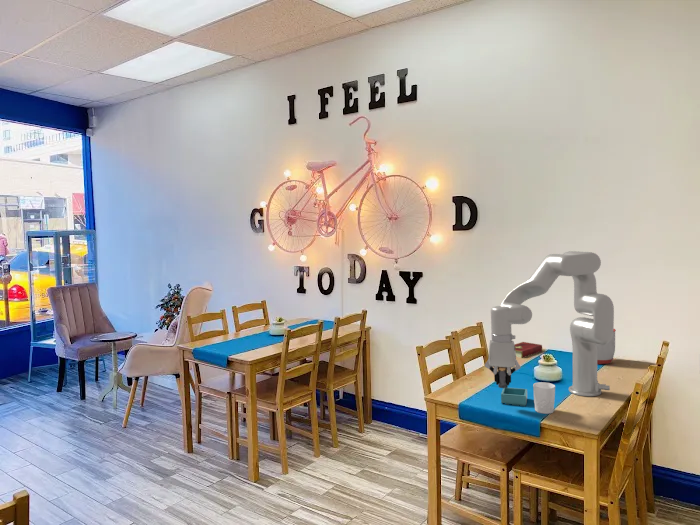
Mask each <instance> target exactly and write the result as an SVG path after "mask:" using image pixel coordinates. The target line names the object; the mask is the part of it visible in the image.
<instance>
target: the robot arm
mask: <svg viewBox="0 0 700 525" xmlns="http://www.w3.org/2000/svg"><path fill="white" fill-rule="evenodd" d="M601 261H602V260H601V258H600V256H599V255H598V254H597V253H596V252H591V251H590V252H589V251H575V250H573V251H571V250H570V251H565V252H563V253H559V254H558V253H553V254H552V253H551V254H548V255H547V256H545V257H544V258H543V259H542V261H541V262H540V264H539V265H538V266H537V267H536V269H535V270H534V272H533V273H532V274H531V276H530V277H529V278H528V279H527V280H526V281H524V282H523V283H521V284H519V285H517V287H515V288H513V289H512V290H511V291H510V292H509V293H508V294H507V295H506V296H505V298H504V299H503V300H502V301H501V303H500V305H497V306H492V308H490V325H491V326H490V328H491V329H490V330H491V340H489V346H488V359H487V361H486V362H485V363H484V368H487V369H488V370H490V371H491V373H493V376H494V377H493V378H494V383H495V384H496V386H498V367H507V385H508V386H510V383H512V374H514V373H515V372H516V371H518V370H519V369H521V365H520V363H519V362H518V360H517V357H516V352H515V345H514V344H515V341H514V340H515V339H516V335H513V334H512V325H525V324H527V323H529V322H530V321H531V320H532V318H533V311H532V310H531V308H529V307H528V306H527V305H524V304H523V303H524V302H526V301H528V300H530V299H532V298H536V297H540V296H542V295H545V294H546V293H548V292H549V290H550V288H551V287H552V285H554V283H555V281H556V280H557V279H558V277H560V276H561V277H562V276H563V277H571V278H572V280H573V306H574V310H575V311H576V312H577V313H578V314H581V315H584V317H583V316H582V317H576V318H573V320H572V321H571V323H570V325H569V333H570V338H571V342H572V343H571V344H572V385H571V386H569V387H568V391H569V392H570V393H571V394H574V395H575V396H581V397H596V396H600V395H601V394H602V390H603V391H604V390H605V391H610V389H611V388H610V386H611V385H607V384H605V383H602V384H601V383H600V382H599V380H598V364H597V348H596V345H595V343H596V344H601V345H604V344H607V343H609V342H610V341H611V339H612V337H613V330H614V329H615V328H614V324H615V323H614V322H615V309H614V308H615V307H614V302H613V301H612V299H611V298H610V297H609V296H608V295H606V294H603V293H598V292H597V278H596V276H595V274H594V273H596V272H597V271H599V269H600V268H601V263H602V262H601ZM585 316H589V317H585ZM590 317H593V318H590Z"/></svg>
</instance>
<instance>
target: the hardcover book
mask: <svg viewBox="0 0 700 525" xmlns="http://www.w3.org/2000/svg"><path fill="white" fill-rule="evenodd" d="M514 345H515V352H516V356H517V357H516V358H520V357H521V359H522V358H523V359H524V358H526V357H529V356H531V354H532V355H534V354H538V353H540V352H542V351H543V345H542V344H539V343H532V342H526V341H521V342H518V343H514ZM528 355H529V356H528ZM525 356H526V357H525Z"/></svg>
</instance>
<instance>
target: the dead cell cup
mask: <svg viewBox="0 0 700 525" xmlns="http://www.w3.org/2000/svg"><path fill="white" fill-rule="evenodd" d="M500 401H501V402H500V403H506V404H505V405H509V404H512V405H511V406H519V405H520V406H522V407H526V406H527V403H528V389H527V388H519V387H507V388H502V391H501V393H500Z"/></svg>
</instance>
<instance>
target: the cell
mask: <svg viewBox="0 0 700 525" xmlns="http://www.w3.org/2000/svg"><path fill="white" fill-rule="evenodd" d="M497 371H498V385H497V386H498V388H500V389H503V388H507V387H508V386H509V385H507V373H508V371H507V367H498V369H497ZM508 388H509V387H508Z"/></svg>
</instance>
